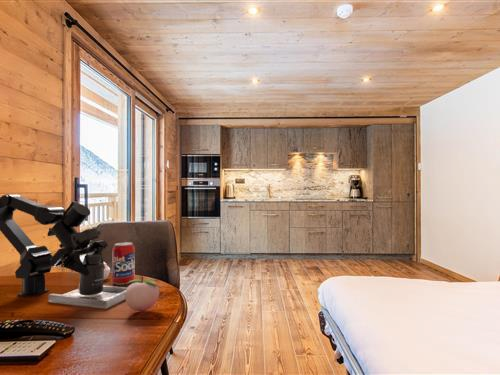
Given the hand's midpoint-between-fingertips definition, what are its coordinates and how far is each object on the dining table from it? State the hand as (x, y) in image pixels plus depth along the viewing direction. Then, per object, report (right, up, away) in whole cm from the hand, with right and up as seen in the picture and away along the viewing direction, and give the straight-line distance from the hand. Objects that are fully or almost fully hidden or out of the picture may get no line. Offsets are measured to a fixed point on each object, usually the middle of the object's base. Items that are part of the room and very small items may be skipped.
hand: (95, 271), depth 95 cm
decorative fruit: (+19, -8, -12) cm, 24 cm away
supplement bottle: (-1, -7, 0) cm, 7 cm away
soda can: (+2, -9, +17) cm, 19 cm away
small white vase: (-9, -10, +22) cm, 26 cm away
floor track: (-1, -9, 0) cm, 9 cm away
